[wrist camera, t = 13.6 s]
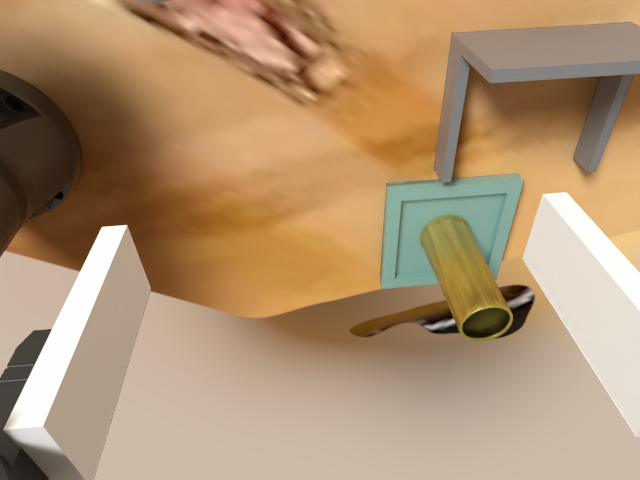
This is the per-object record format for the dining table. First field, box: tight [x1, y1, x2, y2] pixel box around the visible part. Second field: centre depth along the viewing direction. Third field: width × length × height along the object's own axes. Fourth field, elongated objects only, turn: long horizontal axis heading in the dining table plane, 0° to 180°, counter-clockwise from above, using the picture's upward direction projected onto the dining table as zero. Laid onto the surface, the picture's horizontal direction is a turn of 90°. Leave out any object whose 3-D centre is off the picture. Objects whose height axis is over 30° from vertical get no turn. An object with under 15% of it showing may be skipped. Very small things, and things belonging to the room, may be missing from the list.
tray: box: [380, 174, 524, 289], centre depth 56 cm, size 15×15×2 cm
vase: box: [420, 215, 513, 341], centre depth 50 cm, size 6×6×14 cm
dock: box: [434, 22, 640, 183], centre depth 43 cm, size 17×14×10 cm
